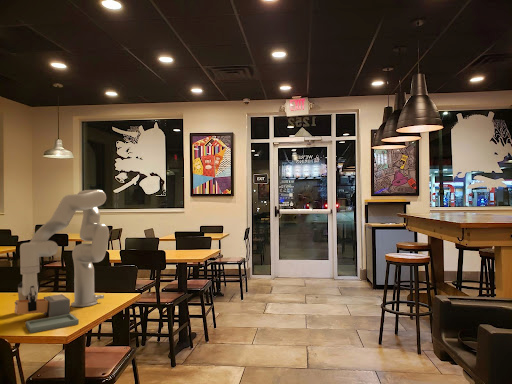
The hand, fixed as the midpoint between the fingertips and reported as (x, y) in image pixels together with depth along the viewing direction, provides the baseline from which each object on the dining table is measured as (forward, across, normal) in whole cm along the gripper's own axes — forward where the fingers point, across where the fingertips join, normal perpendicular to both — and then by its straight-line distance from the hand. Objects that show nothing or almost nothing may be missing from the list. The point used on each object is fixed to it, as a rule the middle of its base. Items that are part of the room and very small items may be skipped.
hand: (30, 308), depth 176 cm
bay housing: (+5, 0, +10) cm, 12 cm away
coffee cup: (+5, -19, +1) cm, 19 cm away
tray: (+5, +17, +5) cm, 19 cm away
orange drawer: (+1, 0, 0) cm, 1 cm away
